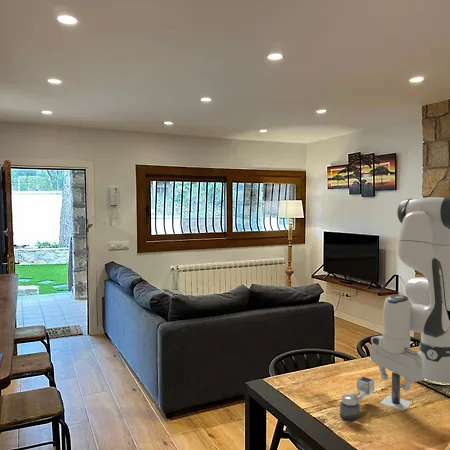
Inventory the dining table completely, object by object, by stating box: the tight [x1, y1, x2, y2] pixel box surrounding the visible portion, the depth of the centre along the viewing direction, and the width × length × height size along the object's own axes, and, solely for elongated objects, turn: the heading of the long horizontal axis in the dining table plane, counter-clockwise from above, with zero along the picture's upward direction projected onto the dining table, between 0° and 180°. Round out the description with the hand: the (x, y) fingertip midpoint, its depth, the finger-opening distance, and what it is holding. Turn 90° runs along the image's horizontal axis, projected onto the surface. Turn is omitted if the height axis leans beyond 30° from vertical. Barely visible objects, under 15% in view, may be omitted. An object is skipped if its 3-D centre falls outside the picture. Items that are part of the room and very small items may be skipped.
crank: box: [341, 376, 375, 407], centre depth 137 cm, size 17×5×4 cm, turn 138°
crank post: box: [339, 400, 361, 422], centre depth 132 cm, size 6×6×4 cm
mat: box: [379, 394, 413, 412], centre depth 140 cm, size 8×8×1 cm
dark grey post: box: [391, 371, 401, 404], centre depth 140 cm, size 3×3×10 cm
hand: (394, 384), depth 140 cm, fingers open, 8 cm apart
